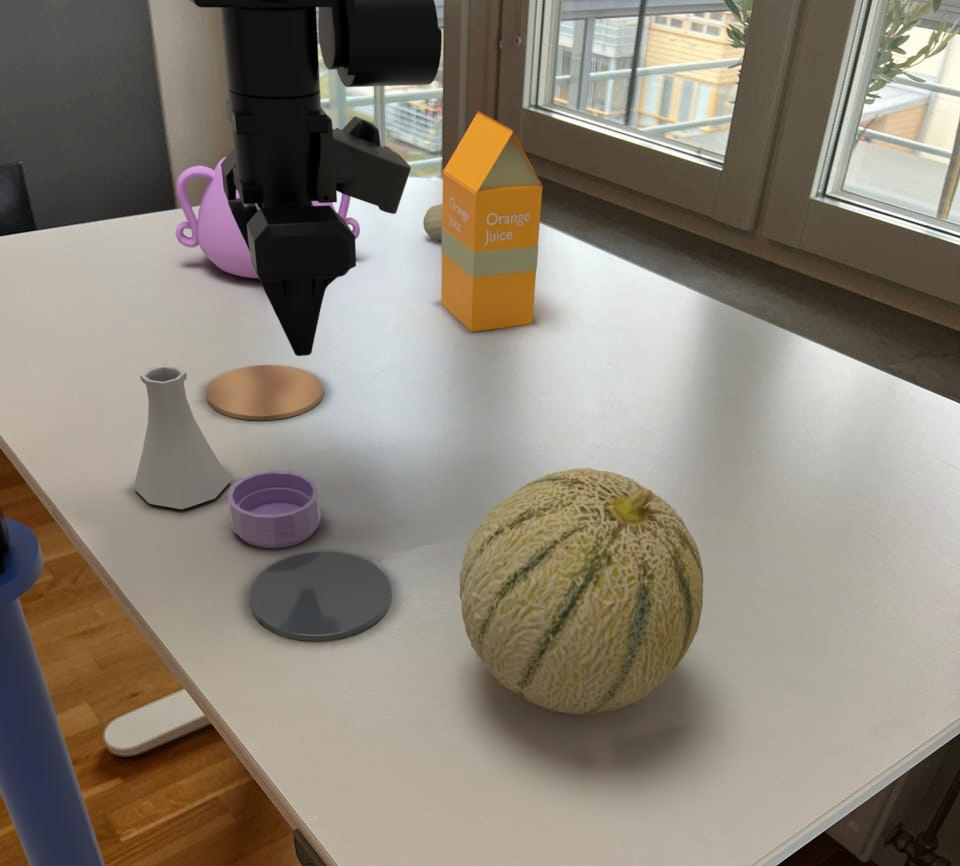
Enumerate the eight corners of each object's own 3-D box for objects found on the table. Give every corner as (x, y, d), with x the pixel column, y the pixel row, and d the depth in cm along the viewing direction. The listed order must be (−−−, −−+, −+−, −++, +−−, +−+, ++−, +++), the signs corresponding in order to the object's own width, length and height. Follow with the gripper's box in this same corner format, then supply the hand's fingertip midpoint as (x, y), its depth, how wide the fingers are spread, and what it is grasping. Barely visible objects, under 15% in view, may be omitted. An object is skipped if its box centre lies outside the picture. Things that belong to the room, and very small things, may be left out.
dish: (241, 557, 74) (236, 523, 72) (225, 511, 79) (220, 478, 77) (330, 541, 76) (327, 508, 74) (308, 497, 81) (306, 465, 79)
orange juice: (470, 332, 108) (477, 132, 96) (439, 303, 115) (442, 112, 102) (534, 323, 111) (548, 127, 98) (500, 295, 117) (510, 108, 105)
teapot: (181, 308, 111) (161, 175, 102) (180, 243, 127) (162, 125, 118) (377, 298, 115) (373, 171, 106) (351, 237, 131) (346, 122, 122)
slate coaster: (266, 654, 66) (265, 648, 65) (237, 570, 73) (236, 565, 73) (409, 624, 69) (409, 618, 69) (368, 546, 76) (368, 541, 76)
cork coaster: (217, 427, 90) (217, 422, 89) (198, 377, 97) (197, 372, 97) (336, 411, 93) (336, 406, 93) (308, 363, 101) (307, 359, 100)
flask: (246, 482, 82) (232, 369, 76) (182, 521, 78) (161, 403, 71) (183, 457, 85) (164, 345, 79) (118, 492, 80) (92, 377, 74)
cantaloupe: (457, 609, 70) (462, 416, 61) (662, 613, 71) (699, 423, 61) (456, 762, 59) (463, 554, 49) (701, 765, 59) (754, 560, 50)
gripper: (437, 121, 58) (432, 373, 68) (366, 60, 71) (371, 278, 81) (244, 125, 55) (268, 388, 65) (208, 61, 68) (233, 286, 78)
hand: (292, 329), depth 72 cm, fingers open, 9 cm apart
